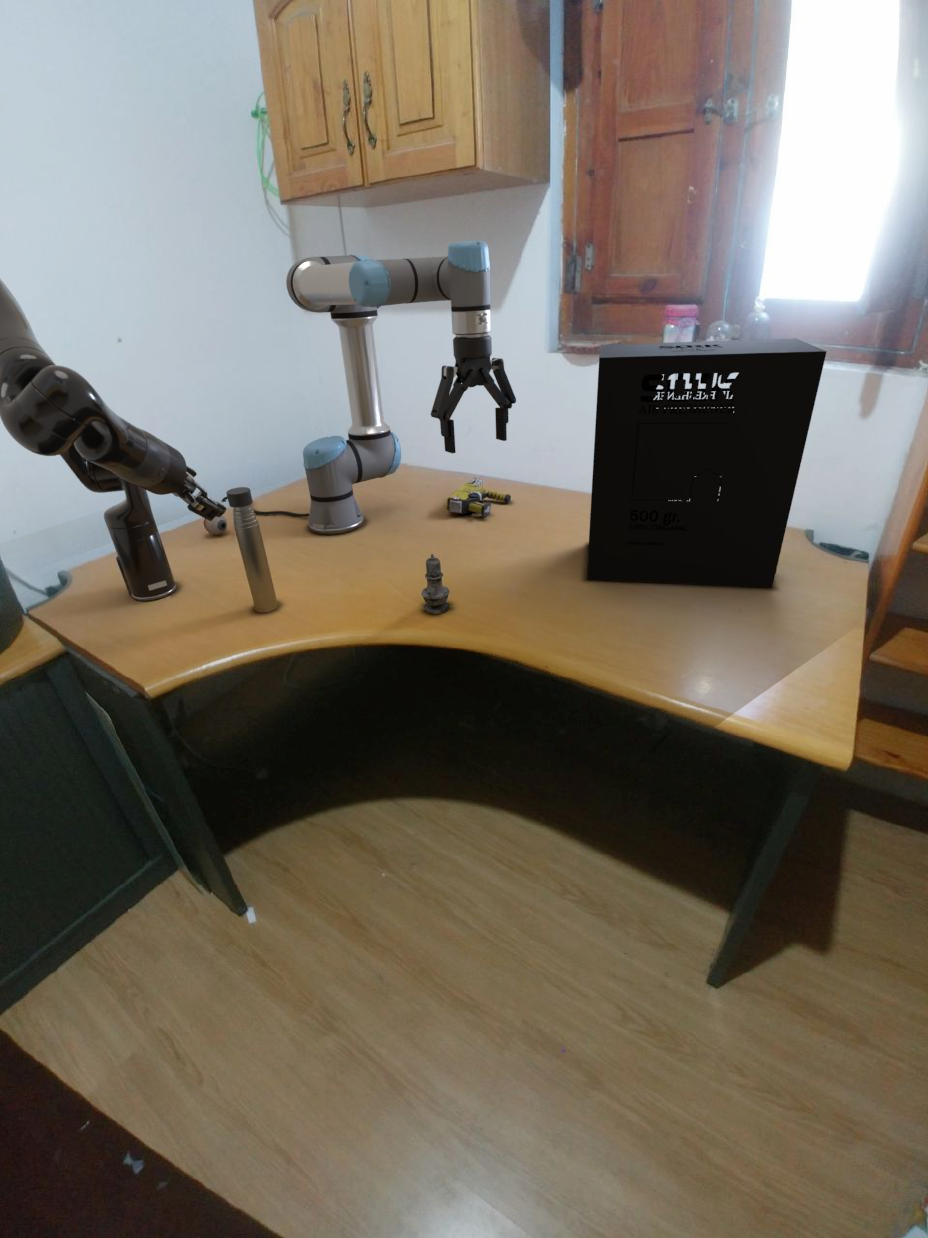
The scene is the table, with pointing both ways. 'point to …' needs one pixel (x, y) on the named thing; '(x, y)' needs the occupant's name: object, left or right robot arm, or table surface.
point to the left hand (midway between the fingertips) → (206, 494)
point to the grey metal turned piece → (435, 588)
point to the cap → (239, 497)
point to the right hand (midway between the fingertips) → (476, 445)
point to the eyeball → (216, 525)
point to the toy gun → (473, 499)
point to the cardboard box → (698, 459)
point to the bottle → (254, 559)
